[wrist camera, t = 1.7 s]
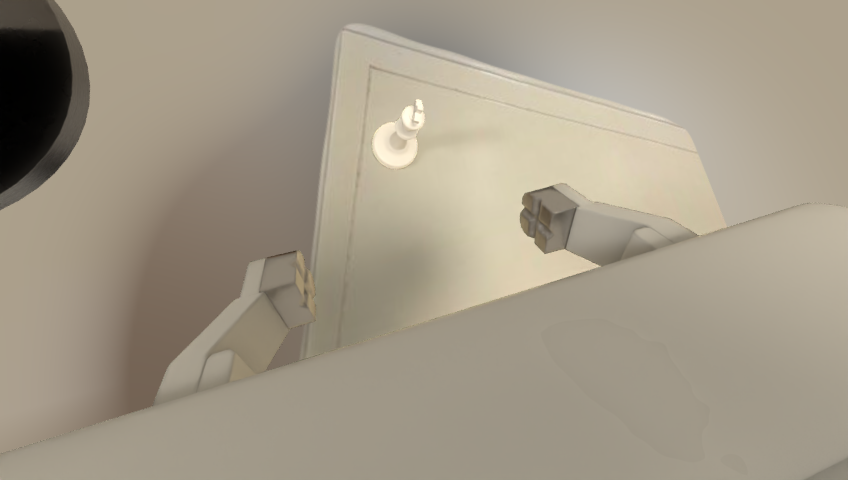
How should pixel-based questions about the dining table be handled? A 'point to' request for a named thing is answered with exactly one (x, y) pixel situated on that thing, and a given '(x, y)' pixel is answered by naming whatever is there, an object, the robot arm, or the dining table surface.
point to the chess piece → (399, 138)
